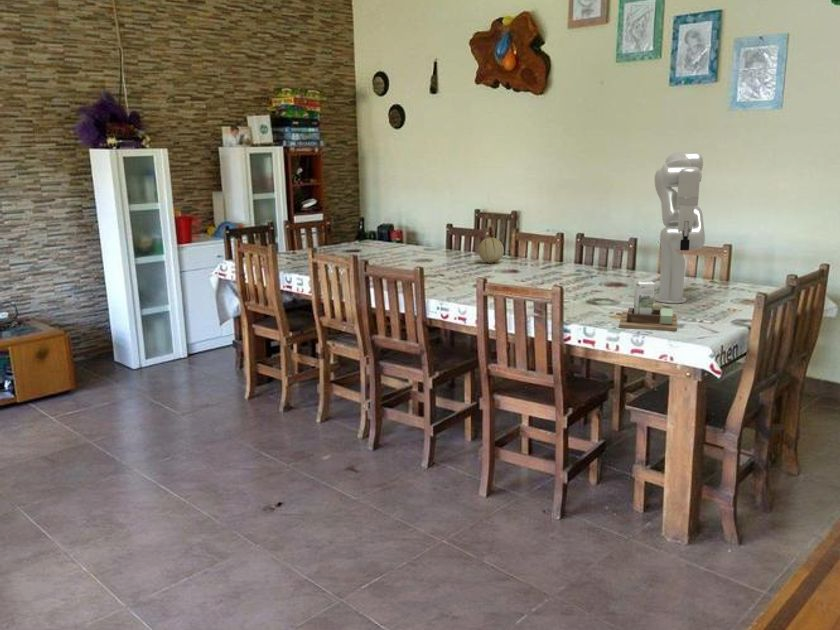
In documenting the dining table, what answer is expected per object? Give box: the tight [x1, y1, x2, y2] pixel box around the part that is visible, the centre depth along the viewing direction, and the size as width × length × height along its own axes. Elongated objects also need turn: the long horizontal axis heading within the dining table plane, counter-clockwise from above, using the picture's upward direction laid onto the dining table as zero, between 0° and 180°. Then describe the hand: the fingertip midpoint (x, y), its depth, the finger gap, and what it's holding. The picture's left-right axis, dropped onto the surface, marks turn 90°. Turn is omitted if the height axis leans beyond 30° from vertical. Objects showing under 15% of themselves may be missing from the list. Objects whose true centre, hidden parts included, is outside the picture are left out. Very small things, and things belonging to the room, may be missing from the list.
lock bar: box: [660, 308, 674, 324], centre depth 271 cm, size 13×4×3 cm, turn 161°
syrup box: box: [633, 280, 656, 315], centre depth 272 cm, size 6×6×14 cm
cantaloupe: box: [477, 236, 505, 264], centre depth 414 cm, size 15×15×15 cm
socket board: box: [618, 307, 678, 332], centre depth 274 cm, size 22×20×4 cm
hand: (684, 249), depth 279 cm, fingers closed
